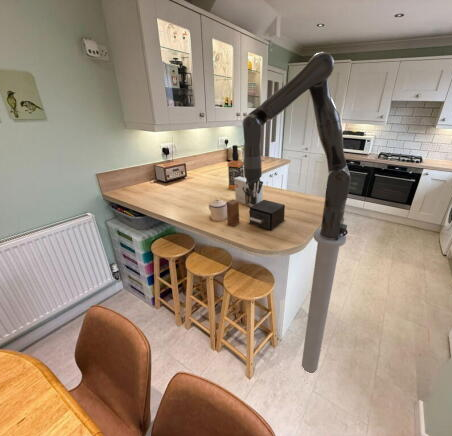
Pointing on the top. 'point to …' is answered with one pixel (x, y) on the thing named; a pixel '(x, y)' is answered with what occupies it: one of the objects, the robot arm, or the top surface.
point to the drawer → (260, 219)
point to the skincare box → (241, 195)
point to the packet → (232, 212)
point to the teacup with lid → (218, 210)
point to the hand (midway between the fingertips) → (253, 203)
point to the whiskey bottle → (235, 168)
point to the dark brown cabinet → (271, 211)
